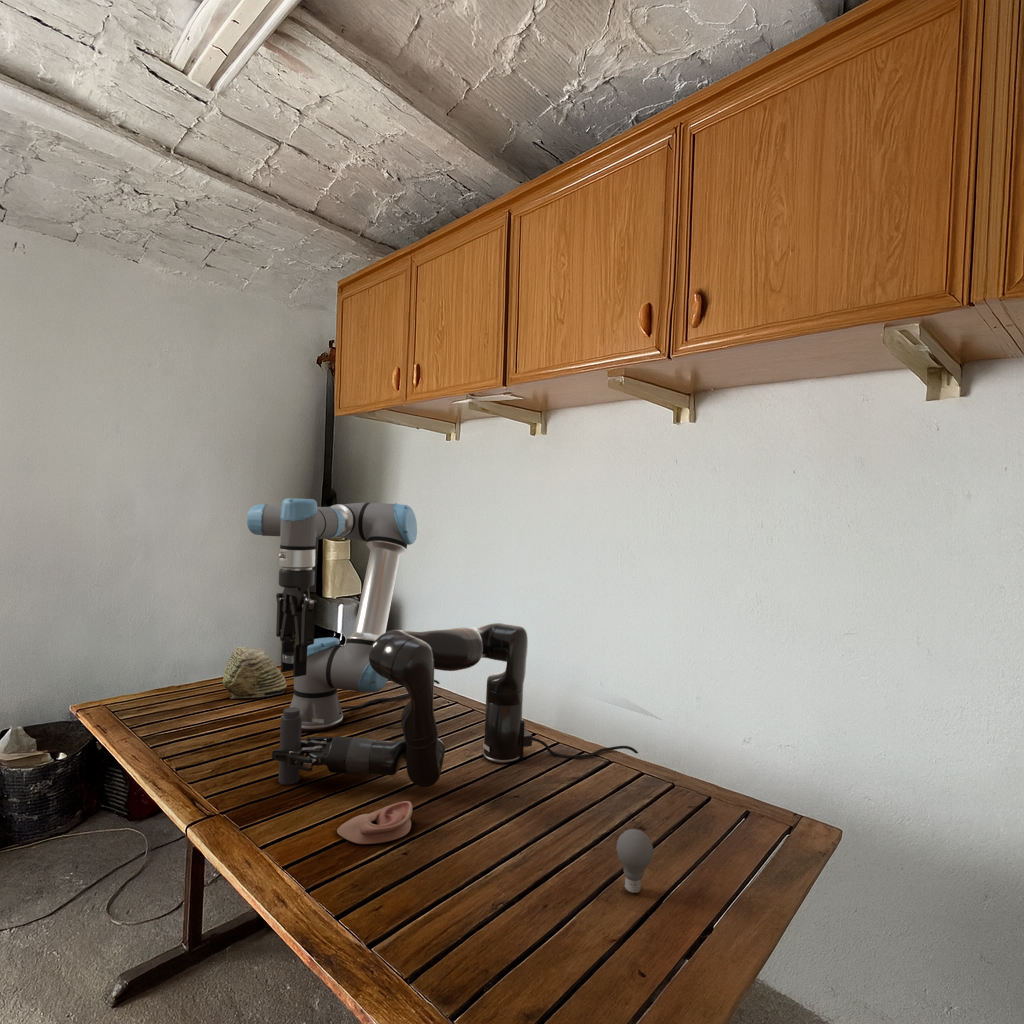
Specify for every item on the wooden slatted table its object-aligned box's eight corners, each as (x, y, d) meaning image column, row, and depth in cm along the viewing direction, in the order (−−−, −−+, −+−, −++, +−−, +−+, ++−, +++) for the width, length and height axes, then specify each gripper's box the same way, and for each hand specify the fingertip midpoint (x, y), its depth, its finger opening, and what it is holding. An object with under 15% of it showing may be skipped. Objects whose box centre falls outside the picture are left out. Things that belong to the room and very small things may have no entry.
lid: (308, 662, 140) (308, 654, 140) (285, 664, 137) (285, 657, 137) (301, 657, 144) (301, 649, 144) (279, 659, 141) (279, 652, 141)
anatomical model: (329, 818, 117) (357, 790, 128) (328, 839, 117) (356, 810, 128) (397, 828, 114) (419, 799, 126) (396, 850, 114) (418, 819, 126)
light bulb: (610, 879, 108) (613, 822, 108) (644, 879, 109) (647, 822, 109) (619, 902, 102) (622, 840, 102) (655, 901, 103) (658, 840, 103)
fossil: (218, 695, 195) (220, 647, 195) (278, 685, 208) (279, 640, 207) (228, 703, 189) (230, 653, 188) (289, 692, 201) (290, 645, 201)
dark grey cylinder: (276, 785, 138) (278, 713, 138) (281, 776, 143) (283, 706, 142) (297, 784, 139) (299, 713, 138) (301, 775, 143) (304, 706, 143)
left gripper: (261, 564, 143) (258, 667, 144) (302, 573, 131) (298, 685, 132) (292, 563, 149) (289, 661, 149) (334, 571, 137) (330, 678, 137)
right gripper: (363, 727, 147) (291, 722, 148) (343, 751, 132) (263, 745, 134) (362, 759, 147) (290, 754, 148) (341, 787, 133) (262, 780, 134)
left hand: (293, 672), depth 140 cm, fingers closed on lid, 5 cm apart
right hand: (278, 750), depth 141 cm, fingers closed on dark grey cylinder, 4 cm apart
